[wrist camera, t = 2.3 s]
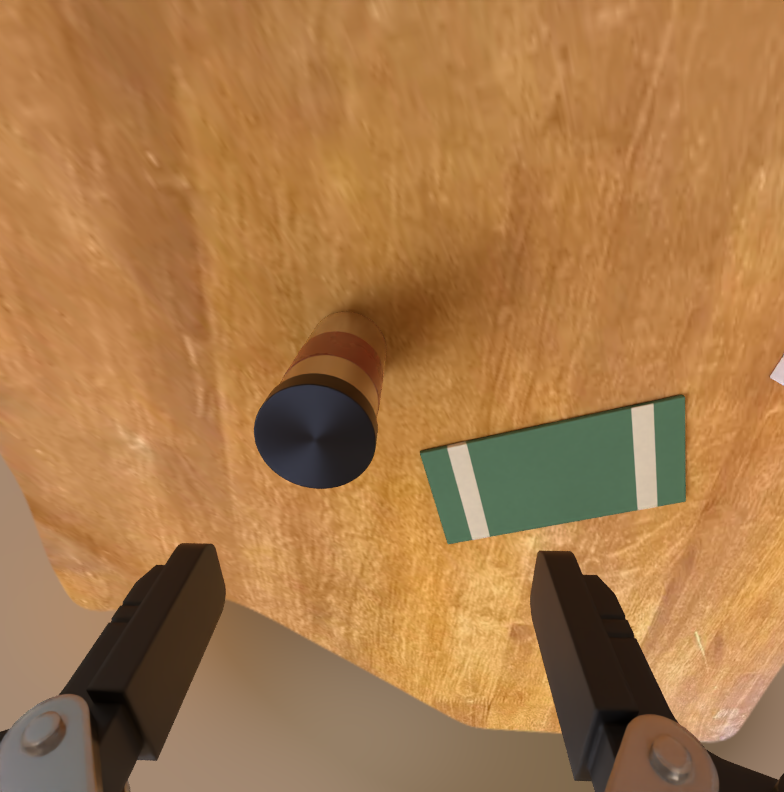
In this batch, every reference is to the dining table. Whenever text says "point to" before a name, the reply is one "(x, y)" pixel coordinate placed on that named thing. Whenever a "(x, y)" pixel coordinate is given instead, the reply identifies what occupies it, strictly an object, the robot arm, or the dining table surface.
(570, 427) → the towel
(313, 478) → the jar
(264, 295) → the dining table surface
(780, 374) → the milk
